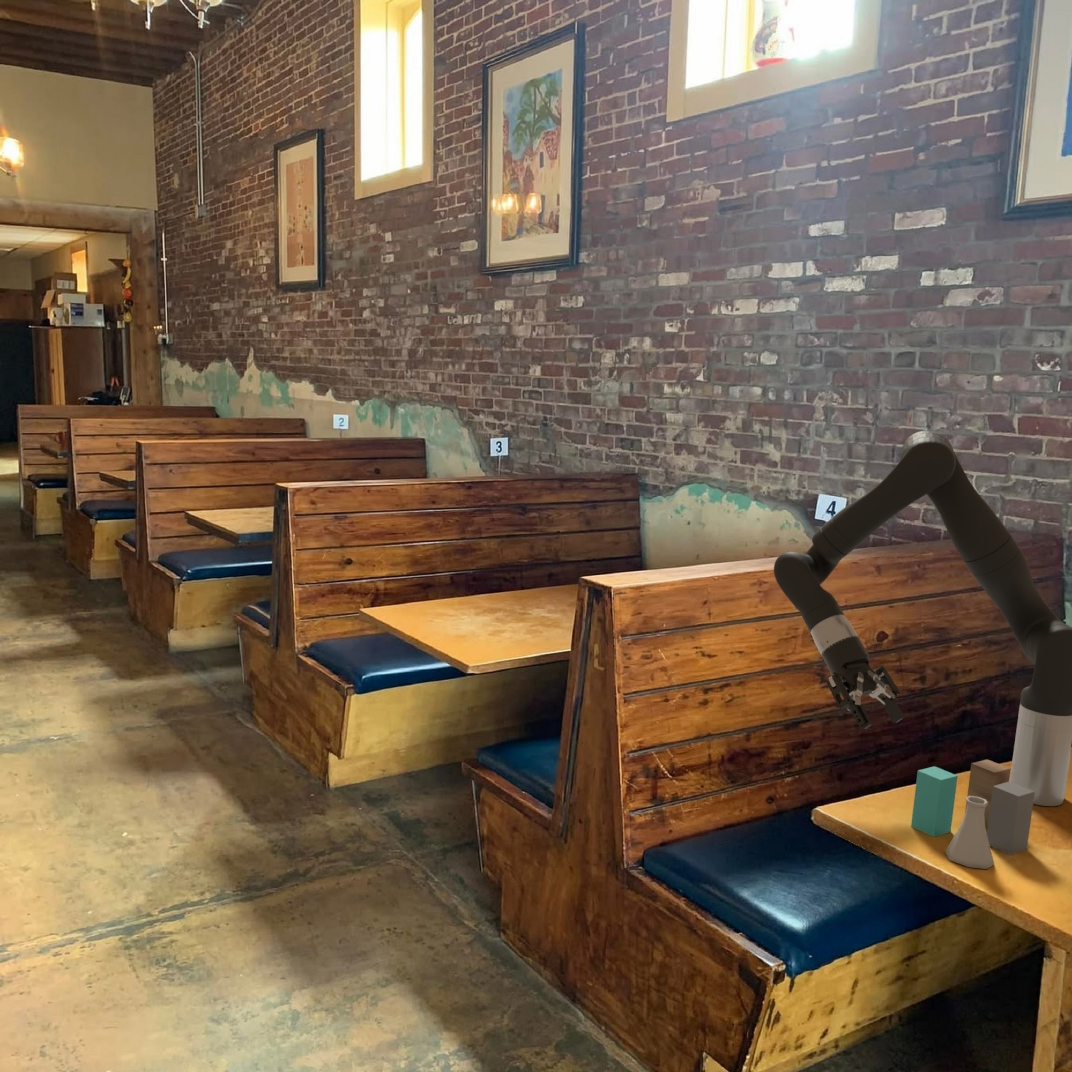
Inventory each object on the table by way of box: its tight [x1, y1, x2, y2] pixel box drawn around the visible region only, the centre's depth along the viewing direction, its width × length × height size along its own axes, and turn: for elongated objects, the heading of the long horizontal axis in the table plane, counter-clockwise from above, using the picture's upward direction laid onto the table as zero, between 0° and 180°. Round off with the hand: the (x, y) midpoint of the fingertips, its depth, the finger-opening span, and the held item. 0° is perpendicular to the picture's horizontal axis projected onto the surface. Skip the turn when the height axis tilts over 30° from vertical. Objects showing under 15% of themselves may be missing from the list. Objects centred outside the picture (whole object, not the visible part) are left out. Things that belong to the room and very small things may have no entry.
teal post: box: [910, 765, 959, 838], centre depth 168 cm, size 4×4×10 cm
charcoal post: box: [986, 781, 1035, 856], centre depth 163 cm, size 4×4×10 cm
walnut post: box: [964, 759, 1011, 828], centre depth 173 cm, size 4×4×10 cm
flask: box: [944, 796, 995, 870], centre depth 157 cm, size 7×7×10 cm
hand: (883, 723), depth 176 cm, fingers open, 8 cm apart
